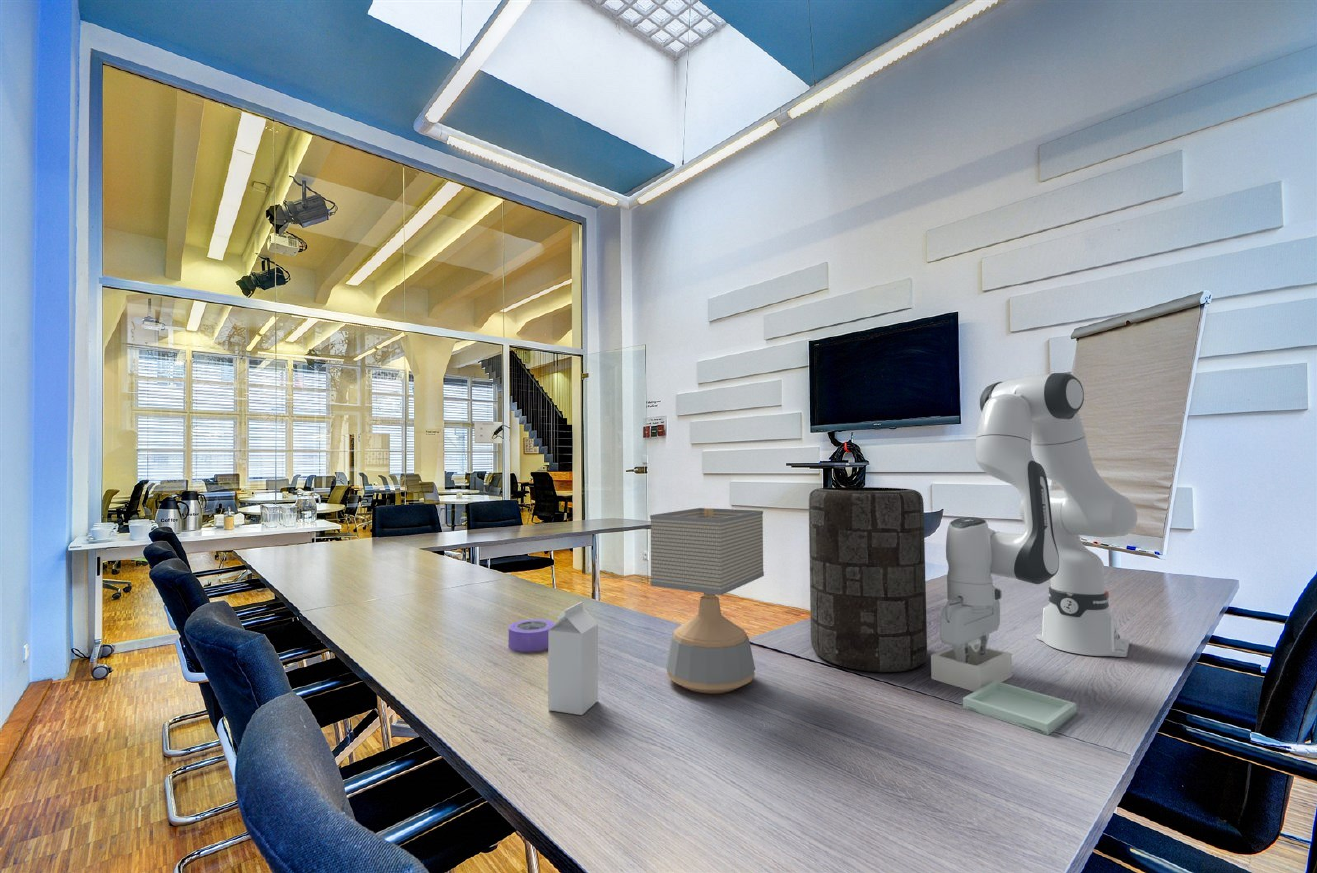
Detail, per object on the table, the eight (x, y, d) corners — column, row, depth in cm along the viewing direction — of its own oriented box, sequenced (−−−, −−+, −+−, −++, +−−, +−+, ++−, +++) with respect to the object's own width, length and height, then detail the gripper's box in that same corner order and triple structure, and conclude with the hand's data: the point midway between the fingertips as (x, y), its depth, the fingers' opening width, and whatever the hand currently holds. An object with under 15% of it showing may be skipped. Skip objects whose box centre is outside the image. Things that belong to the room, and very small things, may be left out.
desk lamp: (729, 710, 108) (727, 514, 110) (644, 689, 118) (644, 510, 120) (771, 674, 127) (769, 506, 128) (695, 659, 137) (694, 503, 138)
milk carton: (598, 701, 113) (598, 603, 114) (581, 716, 106) (582, 612, 107) (565, 696, 115) (566, 600, 116) (547, 711, 108) (548, 609, 109)
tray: (995, 689, 118) (995, 680, 118) (1076, 713, 106) (1076, 703, 107) (963, 707, 109) (962, 698, 109) (1047, 735, 98) (1047, 724, 98)
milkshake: (989, 682, 121) (988, 634, 122) (961, 680, 122) (960, 633, 123) (981, 675, 126) (980, 628, 126) (955, 673, 127) (954, 627, 127)
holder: (964, 663, 133) (964, 641, 133) (1012, 676, 125) (1011, 653, 125) (931, 679, 124) (930, 655, 124) (980, 693, 116) (979, 668, 116)
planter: (950, 660, 135) (945, 489, 137) (882, 685, 120) (878, 493, 122) (855, 633, 157) (853, 485, 159) (788, 651, 142) (786, 488, 144)
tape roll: (549, 652, 142) (550, 632, 143) (502, 652, 143) (502, 631, 143) (558, 638, 154) (558, 619, 154) (515, 638, 154) (515, 619, 155)
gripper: (961, 603, 116) (963, 673, 116) (1005, 589, 129) (1007, 652, 128) (931, 598, 121) (932, 664, 121) (975, 585, 134) (977, 645, 133)
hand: (971, 658), depth 124 cm, fingers open, 7 cm apart
